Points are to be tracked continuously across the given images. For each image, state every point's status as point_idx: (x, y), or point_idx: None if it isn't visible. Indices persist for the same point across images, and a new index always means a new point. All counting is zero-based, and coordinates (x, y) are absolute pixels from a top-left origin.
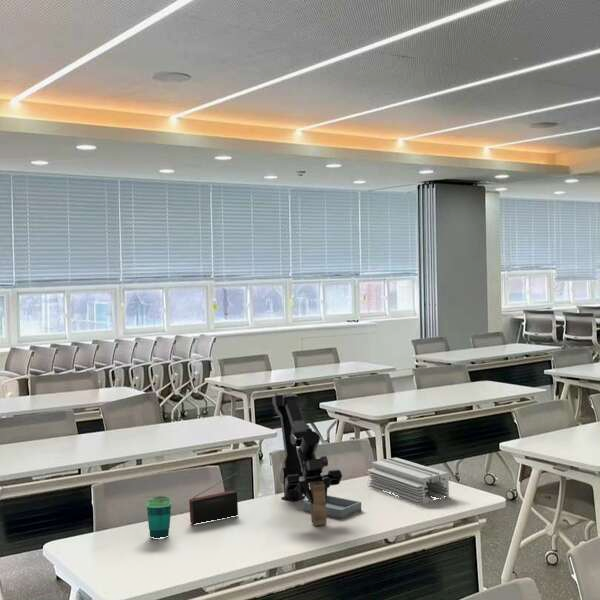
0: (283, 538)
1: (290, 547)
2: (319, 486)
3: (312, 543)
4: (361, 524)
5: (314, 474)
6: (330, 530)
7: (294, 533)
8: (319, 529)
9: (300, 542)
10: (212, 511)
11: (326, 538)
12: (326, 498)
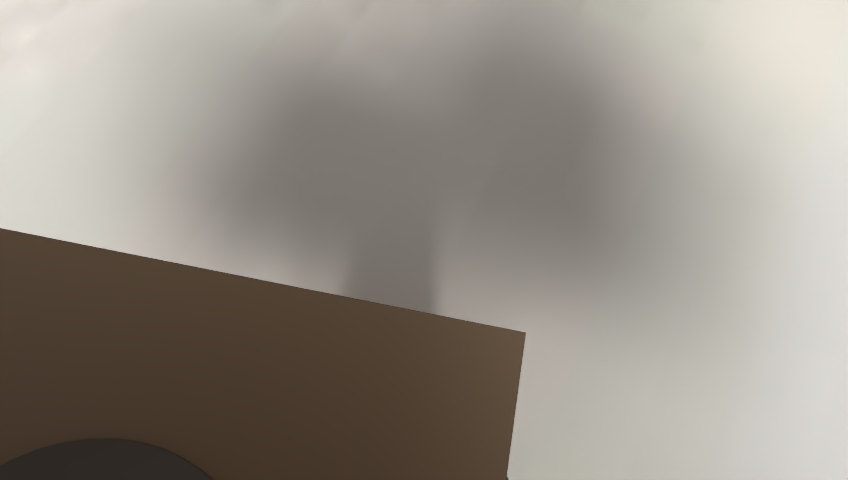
0: (823, 268)
1: (815, 56)
2: (205, 285)
3: (630, 39)
4: (29, 199)
5: None
6: (357, 217)
7: (688, 335)
8: (429, 300)
9: (710, 105)
10: None
11: (486, 71)
12: None
